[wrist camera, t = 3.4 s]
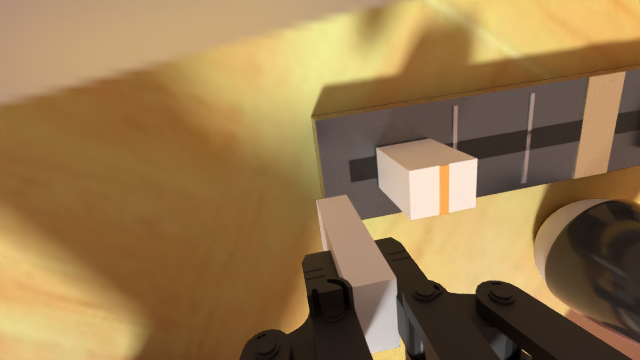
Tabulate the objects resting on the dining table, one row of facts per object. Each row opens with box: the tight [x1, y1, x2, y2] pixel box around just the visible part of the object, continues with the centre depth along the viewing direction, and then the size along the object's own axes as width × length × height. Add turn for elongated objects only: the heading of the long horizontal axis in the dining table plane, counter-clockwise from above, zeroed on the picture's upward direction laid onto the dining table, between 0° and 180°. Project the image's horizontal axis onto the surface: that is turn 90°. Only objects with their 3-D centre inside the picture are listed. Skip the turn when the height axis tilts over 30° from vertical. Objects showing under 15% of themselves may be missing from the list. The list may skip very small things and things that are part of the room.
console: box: [311, 65, 640, 220], centre depth 25 cm, size 28×8×3 cm, turn 97°
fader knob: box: [376, 139, 477, 220], centre depth 21 cm, size 4×3×6 cm
